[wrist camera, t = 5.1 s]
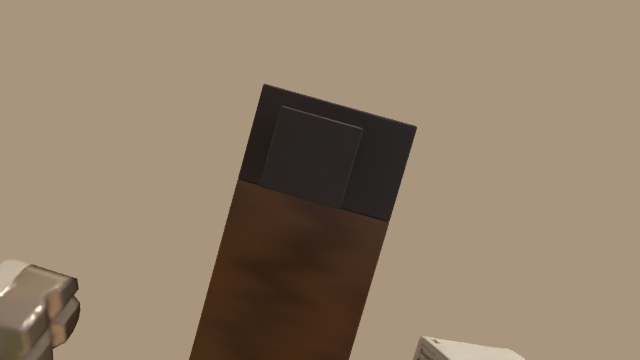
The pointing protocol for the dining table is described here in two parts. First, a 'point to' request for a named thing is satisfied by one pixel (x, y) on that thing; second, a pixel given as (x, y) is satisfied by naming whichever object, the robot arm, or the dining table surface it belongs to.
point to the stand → (287, 279)
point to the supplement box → (460, 351)
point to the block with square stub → (326, 153)
